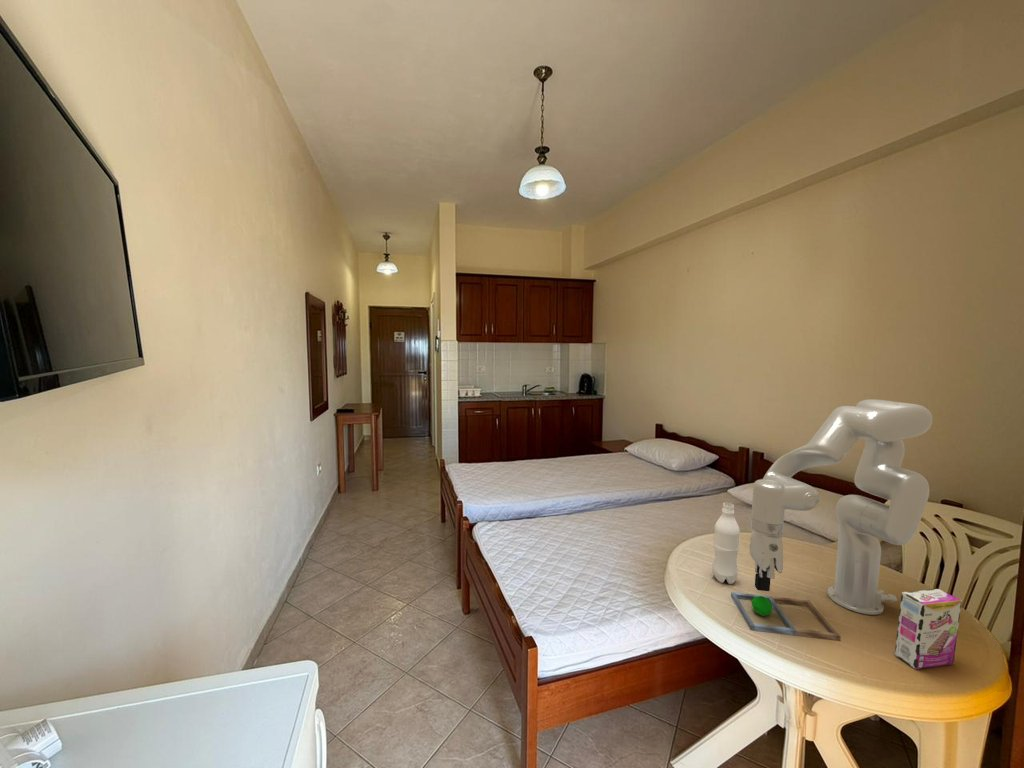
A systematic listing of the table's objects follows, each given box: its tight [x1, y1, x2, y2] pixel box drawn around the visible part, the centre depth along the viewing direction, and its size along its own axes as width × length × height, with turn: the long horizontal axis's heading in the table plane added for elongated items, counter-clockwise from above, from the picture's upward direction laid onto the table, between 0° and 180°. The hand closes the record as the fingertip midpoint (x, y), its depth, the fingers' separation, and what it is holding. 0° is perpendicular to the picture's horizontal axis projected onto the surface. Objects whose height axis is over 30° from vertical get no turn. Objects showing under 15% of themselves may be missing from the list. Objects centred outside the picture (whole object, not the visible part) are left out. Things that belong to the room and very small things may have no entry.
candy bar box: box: [894, 588, 963, 670], centre depth 96 cm, size 11×5×16 cm, turn 99°
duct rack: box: [730, 591, 842, 642], centre depth 112 cm, size 21×15×1 cm
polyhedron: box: [751, 595, 773, 617], centre depth 113 cm, size 5×5×5 cm
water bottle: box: [712, 502, 741, 585], centre depth 129 cm, size 7×7×25 cm
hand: (761, 589), depth 112 cm, fingers closed
